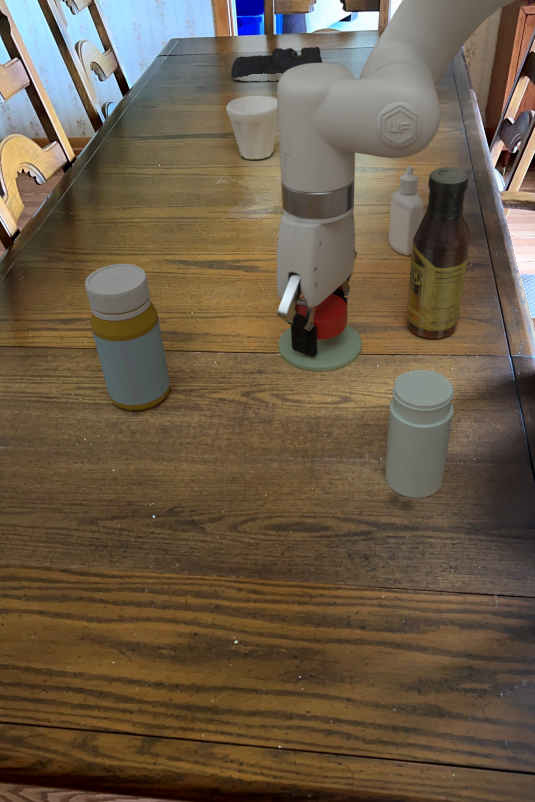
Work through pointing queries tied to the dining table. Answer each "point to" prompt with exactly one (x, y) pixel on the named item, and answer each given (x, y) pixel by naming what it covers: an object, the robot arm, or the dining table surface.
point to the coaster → (323, 351)
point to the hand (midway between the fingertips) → (319, 336)
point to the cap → (329, 317)
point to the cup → (254, 124)
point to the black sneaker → (275, 61)
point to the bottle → (127, 337)
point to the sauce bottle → (439, 257)
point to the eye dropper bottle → (405, 214)
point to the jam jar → (418, 433)
